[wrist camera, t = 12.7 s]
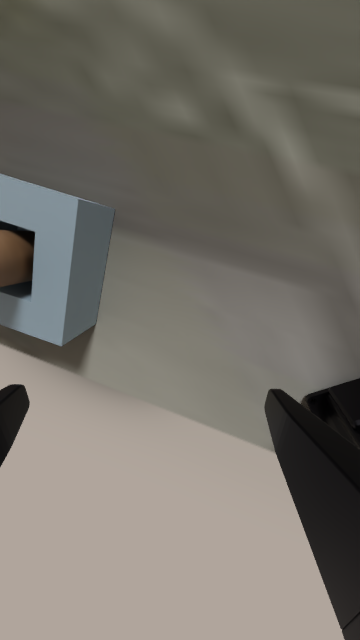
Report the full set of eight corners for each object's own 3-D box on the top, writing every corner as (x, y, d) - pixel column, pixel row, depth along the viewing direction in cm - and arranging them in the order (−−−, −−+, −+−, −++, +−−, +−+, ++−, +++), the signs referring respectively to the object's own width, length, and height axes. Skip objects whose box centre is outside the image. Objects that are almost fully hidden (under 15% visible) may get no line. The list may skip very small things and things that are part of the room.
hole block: (115, 208, 19) (78, 198, 14) (95, 323, 22) (61, 346, 17) (-1, 173, 19) (-73, 152, 15) (-2, 290, 23) (-59, 303, 18)
